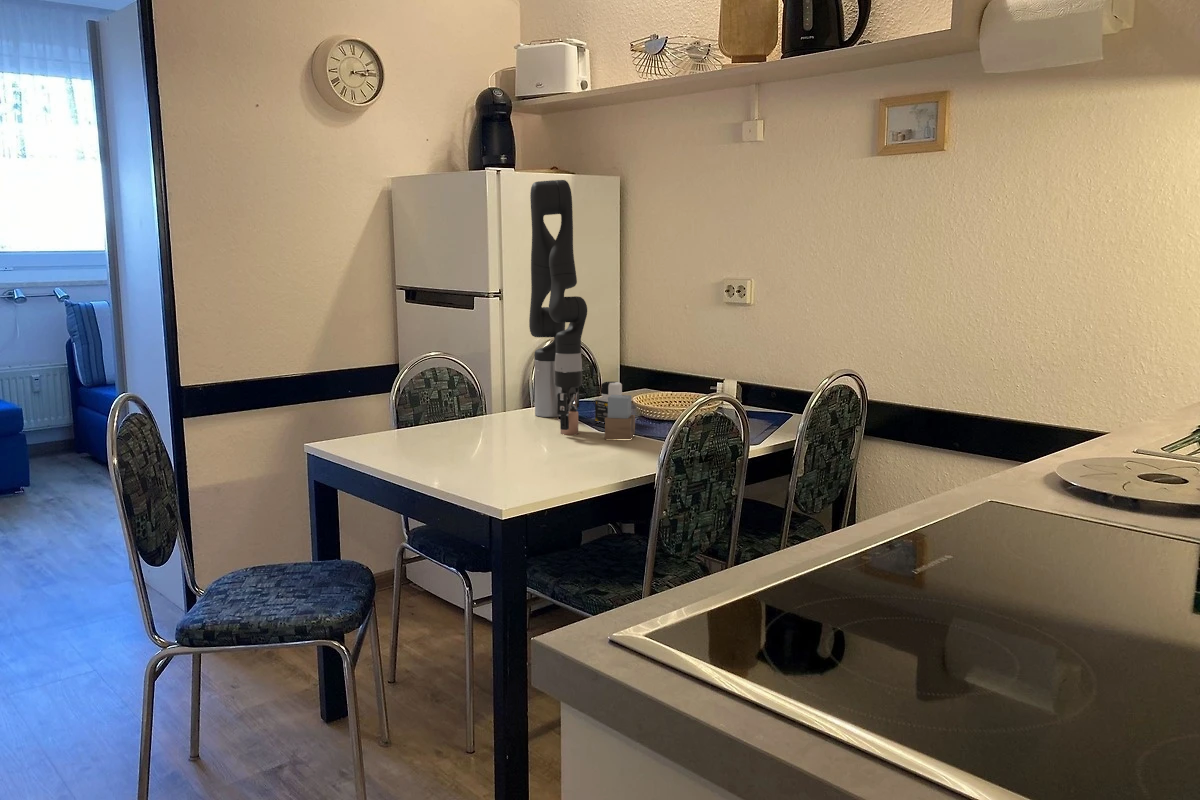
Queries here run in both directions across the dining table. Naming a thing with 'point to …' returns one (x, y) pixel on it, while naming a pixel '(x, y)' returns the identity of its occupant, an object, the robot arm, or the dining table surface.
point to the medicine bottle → (606, 399)
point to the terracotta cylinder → (572, 424)
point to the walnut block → (619, 428)
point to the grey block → (619, 406)
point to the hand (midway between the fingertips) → (568, 426)
